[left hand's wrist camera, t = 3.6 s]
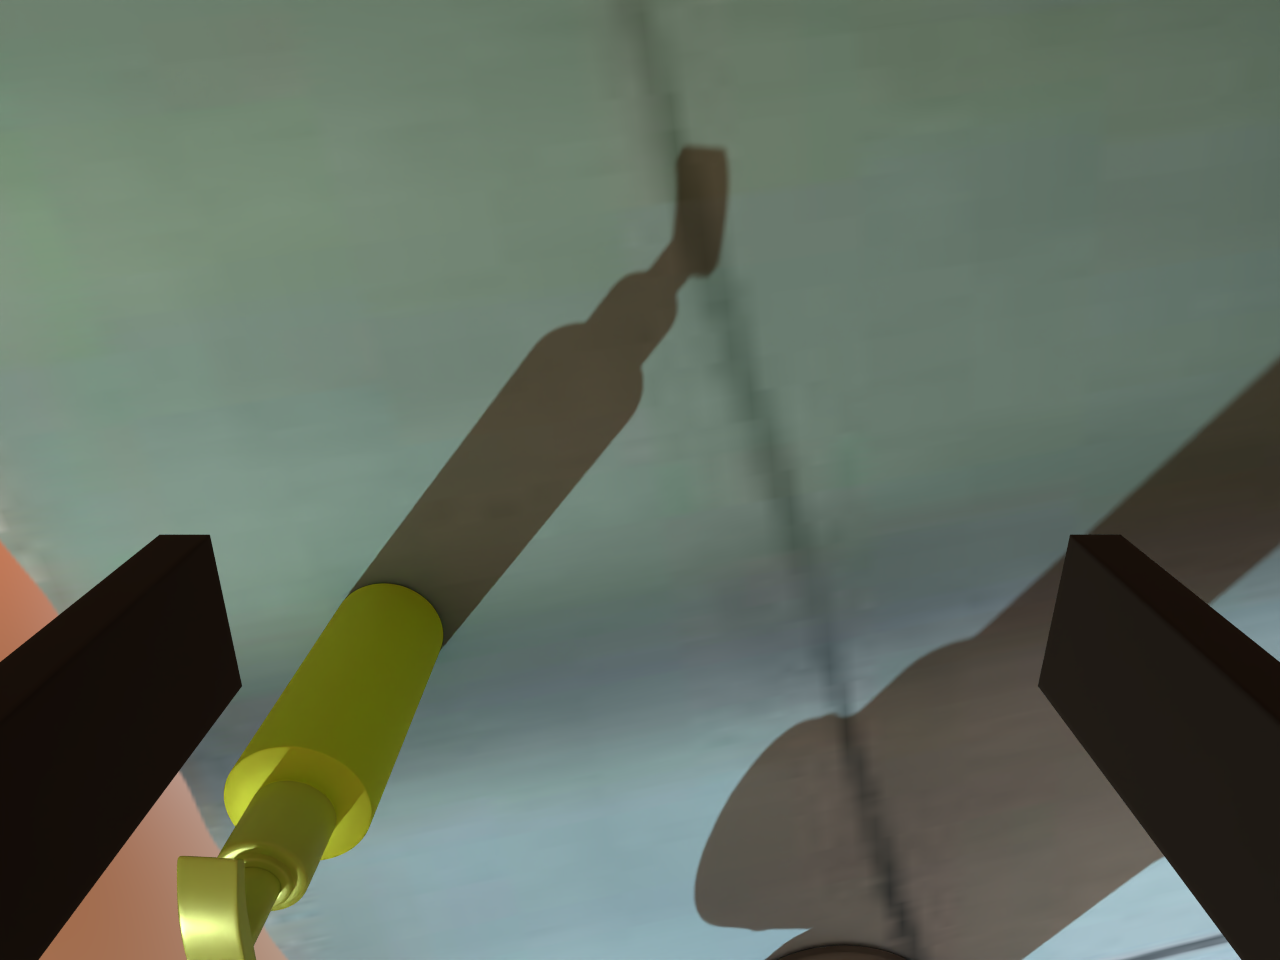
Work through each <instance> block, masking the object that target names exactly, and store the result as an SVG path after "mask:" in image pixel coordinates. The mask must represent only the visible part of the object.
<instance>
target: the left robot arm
mask: <svg viewBox="0 0 1280 960" xmlns="http://www.w3.org/2000/svg"><path fill="white" fill-rule="evenodd" d="M241 687H242V684H241V679H240V674H239V670H238V665H237V660H236V656H235V651H234V646H233V641H232V637H231V632H230V627H229V623H228V618H227V613H226V609H225V604H224V599H223V594H222V590H221V585H220V580H219V576H218V571H217V566H216V562H215V557H214V552H213V547H212V543H211V538H210V535H159V536H157V537H156V538H155V539H154V540H152V541H151V542H150V543H149V544H147V545H146V546H145V547H144V548H142V549H141V550H140V551H139V552H137V553H136V554H135V555H134V556H132V557H131V558H130V559H129V560H127V561H126V562H125V563H124V564H122V565H121V566H120V567H119V568H117V569H116V570H115V571H114V572H112V573H111V574H110V575H109V576H107V577H106V578H105V579H104V580H102V581H101V582H100V583H99V584H97V585H96V586H95V587H94V588H92V589H91V590H90V591H89V592H87V593H86V594H85V595H84V596H82V597H81V598H80V599H79V600H77V601H76V602H75V603H74V604H72V605H71V606H70V607H69V608H67V609H66V610H65V611H64V612H62V613H61V614H60V615H59V616H57V617H56V618H55V619H54V620H52V621H51V622H50V623H49V624H47V625H46V626H45V627H44V628H42V629H41V630H40V631H39V632H37V633H36V634H35V635H34V636H32V637H31V638H30V639H29V640H27V641H26V642H25V643H24V644H22V645H21V646H20V647H19V648H17V649H16V650H15V651H14V652H12V653H11V654H10V655H9V656H7V657H6V658H5V659H4V660H2V661H1V662H0V960H39V958H40V957H41V956H42V954H43V953H44V952H45V950H46V949H47V948H48V946H49V945H50V944H51V942H52V941H53V940H54V938H55V937H56V935H57V934H58V933H59V931H60V930H61V929H62V927H63V926H64V925H65V923H66V922H67V921H68V919H69V918H70V917H71V915H72V914H73V913H74V911H75V910H76V909H77V907H78V906H79V905H80V903H81V902H82V900H83V899H84V898H85V896H86V895H87V894H88V892H89V891H90V890H91V888H92V887H93V886H94V884H95V883H96V882H97V880H98V879H99V878H100V876H101V875H102V874H103V872H104V871H105V870H106V868H107V867H108V866H109V864H110V863H111V862H112V860H113V859H114V857H115V856H116V855H117V853H118V852H119V851H120V849H121V848H122V847H123V845H124V844H125V843H126V841H127V840H128V839H129V837H130V836H131V835H132V833H133V832H134V831H135V829H136V828H137V826H138V825H139V824H140V822H141V821H142V820H143V818H144V817H145V816H146V814H147V813H148V812H149V810H150V809H151V808H152V806H153V805H154V804H155V802H156V801H157V800H158V798H159V797H160V796H161V794H162V793H163V792H164V790H165V789H166V788H167V786H168V785H169V784H170V782H171V781H172V779H173V778H174V777H175V775H176V774H177V773H178V771H179V770H180V769H181V767H182V766H183V765H184V763H185V762H186V761H187V759H188V758H189V757H190V755H191V754H192V753H193V751H194V750H195V749H196V747H197V746H198V745H199V743H200V742H201V740H202V739H203V738H204V736H205V735H206V734H207V732H208V731H209V730H210V728H211V727H212V726H213V724H214V723H215V722H216V720H217V719H218V718H219V716H220V715H221V714H222V712H223V711H224V710H225V708H226V707H227V706H228V704H229V703H230V701H231V700H232V699H233V697H234V696H235V695H236V693H237V692H238V691H239V689H240V688H241ZM1038 687H1039V688H1040V689H1041V691H1042V692H1043V693H1044V695H1045V696H1046V697H1047V699H1048V700H1049V701H1050V703H1051V704H1052V706H1053V707H1054V708H1055V710H1056V711H1057V712H1058V714H1059V715H1060V716H1061V718H1062V719H1063V720H1064V722H1065V723H1066V724H1067V726H1068V727H1069V728H1070V730H1071V731H1072V732H1073V734H1074V735H1075V736H1076V738H1077V739H1078V740H1079V742H1080V743H1081V745H1082V746H1083V747H1084V749H1085V750H1086V751H1087V753H1088V754H1089V755H1090V757H1091V758H1092V759H1093V761H1094V762H1095V763H1096V765H1097V766H1098V767H1099V769H1100V770H1101V771H1102V773H1103V774H1104V775H1105V777H1106V778H1107V779H1108V781H1109V782H1110V784H1111V785H1112V786H1113V788H1114V789H1115V790H1116V792H1117V793H1118V794H1119V796H1120V797H1121V798H1122V800H1123V801H1124V802H1125V804H1126V805H1127V806H1128V808H1129V809H1130V810H1131V812H1132V813H1133V814H1134V816H1135V817H1136V818H1137V820H1138V821H1139V823H1140V824H1141V825H1142V827H1143V828H1144V829H1145V831H1146V832H1147V833H1148V835H1149V836H1150V837H1151V839H1152V840H1153V841H1154V843H1155V844H1156V845H1157V847H1158V848H1159V849H1160V851H1161V852H1162V853H1163V855H1164V856H1165V857H1166V859H1167V860H1168V862H1169V863H1170V864H1171V866H1172V867H1173V868H1174V870H1175V871H1176V872H1177V874H1178V875H1179V876H1180V878H1181V879H1182V880H1183V882H1184V883H1185V884H1186V886H1187V887H1188V888H1189V890H1190V891H1191V892H1192V894H1193V895H1194V896H1195V898H1196V899H1197V901H1198V902H1199V903H1200V905H1201V906H1202V907H1203V909H1204V910H1205V911H1206V913H1207V914H1208V915H1209V917H1210V918H1211V919H1212V921H1213V922H1214V923H1215V925H1216V926H1217V927H1218V929H1219V930H1220V931H1221V933H1222V934H1223V935H1224V937H1225V938H1226V940H1227V941H1228V942H1229V944H1230V945H1231V946H1232V948H1233V949H1234V950H1235V952H1236V953H1237V954H1238V956H1239V957H1240V958H1241V960H1280V662H1279V661H1278V660H1276V659H1275V658H1274V657H1273V656H1271V655H1270V654H1269V653H1268V652H1266V651H1265V650H1264V649H1263V648H1261V647H1260V646H1259V645H1258V644H1256V643H1255V642H1254V641H1253V640H1251V639H1250V638H1249V637H1248V636H1246V635H1245V634H1244V633H1243V632H1241V631H1240V630H1239V629H1238V628H1236V627H1235V626H1234V625H1233V624H1231V623H1230V622H1229V621H1228V620H1226V619H1225V618H1224V617H1223V616H1221V615H1220V614H1219V613H1218V612H1216V611H1215V610H1214V609H1213V608H1211V607H1210V606H1209V605H1208V604H1206V603H1205V602H1204V601H1203V600H1201V599H1200V598H1199V597H1198V596H1196V595H1195V594H1194V593H1193V592H1191V591H1190V590H1189V589H1188V588H1186V587H1185V586H1184V585H1183V584H1181V583H1180V582H1179V581H1178V580H1176V579H1175V578H1174V577H1173V576H1171V575H1170V574H1169V573H1168V572H1166V571H1165V570H1164V569H1163V568H1161V567H1160V566H1159V565H1158V564H1156V563H1155V562H1154V561H1153V560H1151V559H1150V558H1149V557H1148V556H1146V555H1145V554H1144V553H1143V552H1141V551H1140V550H1139V549H1138V548H1136V547H1135V546H1134V545H1133V544H1131V543H1130V542H1129V541H1128V540H1126V539H1125V538H1124V537H1123V536H1121V535H1070V538H1069V543H1068V547H1067V552H1066V557H1065V562H1064V566H1063V571H1062V576H1061V580H1060V585H1059V590H1058V594H1057V599H1056V604H1055V609H1054V613H1053V618H1052V623H1051V627H1050V632H1049V637H1048V641H1047V646H1046V651H1045V656H1044V660H1043V665H1042V670H1041V674H1040V679H1039V684H1038ZM778 960H907V959H904V958H902V957H900V956H898V955H895V954H893V953H890V952H887V951H883V950H879V949H875V948H869V947H862V946H848V945H840V946H825V947H818V948H812V949H808V950H804V951H800V952H796V953H793V954H790V955H787V956H785V957H783V958H780V959H778Z"/></svg>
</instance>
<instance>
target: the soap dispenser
mask: <svg viewBox="0 0 1280 960" xmlns="http://www.w3.org/2000/svg"><path fill="white" fill-rule="evenodd" d="M442 642H443V628H442V623H441V620H440V618H439V616H438V614H437V612H436V610H435V609H434V608H433V606H432V605H431V604H430V603H429V602H428V601H427V600H426V599H425V598H424V597H422V596H421V595H420V594H418V593H416V592H415V591H413V590H411V589H408V588H406V587H403V586H399V585H395V584H386V583H380V584H372V585H368V586H365V587H362V588H360V589H358V590H356V591H354V592H353V593H351V594H350V595H349V596H348V597H347V598H346V599H345V600H344V601H343V602H342V604H341V605H340V607H339V608H338V610H337V611H336V613H335V614H334V616H333V617H332V619H331V620H330V622H329V623H328V625H327V626H326V628H325V629H324V631H323V632H322V634H321V635H320V637H319V638H318V640H317V641H316V643H315V644H314V646H313V648H312V649H311V651H310V652H309V654H308V655H307V657H306V658H305V660H304V661H303V663H302V664H301V666H300V667H299V669H298V670H297V672H296V673H295V675H294V676H293V678H292V679H291V681H290V682H289V684H288V685H287V687H286V688H285V690H284V692H283V693H282V695H281V696H280V698H279V699H278V701H277V702H276V704H275V705H274V707H273V708H272V710H271V711H270V713H269V714H268V716H267V717H266V719H265V720H264V722H263V723H262V725H261V726H260V728H259V729H258V731H257V732H256V734H255V735H254V737H253V739H252V740H251V742H250V743H249V745H248V746H247V748H246V749H245V751H244V752H243V754H242V755H241V757H240V758H239V760H238V761H237V763H236V764H235V766H234V767H233V769H232V770H231V772H230V774H229V776H228V778H227V780H226V783H225V788H224V802H225V807H226V810H227V813H228V815H229V817H230V819H231V821H232V822H233V824H234V825H235V828H234V830H233V832H232V833H231V835H230V837H229V838H228V840H227V842H226V843H225V845H224V847H223V848H222V850H221V852H220V854H219V856H218V857H217V858H215V857H195V856H180V857H179V858H178V862H177V899H178V914H179V923H180V930H181V936H182V941H183V945H184V950H185V954H186V958H187V960H256V957H255V952H254V944H255V942H256V940H257V938H258V936H259V934H260V932H261V930H262V928H263V926H264V924H265V922H266V920H267V917H268V915H269V913H270V911H275V910H281V909H284V908H287V907H289V906H291V905H293V904H295V903H296V902H298V901H299V900H300V899H301V898H302V896H303V895H304V894H305V892H306V890H307V888H308V886H309V884H310V882H311V880H312V877H313V875H314V873H315V871H316V868H317V866H318V864H319V862H320V860H325V859H329V858H333V857H336V856H339V855H341V854H343V853H345V852H347V851H349V850H350V849H352V848H353V847H355V846H356V845H357V844H358V843H359V842H360V841H361V840H362V839H363V837H364V836H365V834H366V833H367V831H368V829H369V826H370V824H371V822H372V819H373V817H374V814H375V812H376V809H377V807H378V804H379V802H380V799H381V797H382V794H383V792H384V789H385V787H386V784H387V782H388V779H389V777H390V774H391V772H392V769H393V767H394V764H395V762H396V759H397V757H398V754H399V752H400V749H401V747H402V744H403V742H404V739H405V737H406V734H407V732H408V729H409V727H410V724H411V722H412V719H413V717H414V714H415V712H416V709H417V707H418V704H419V702H420V699H421V697H422V694H423V692H424V689H425V687H426V684H427V682H428V679H429V677H430V674H431V672H432V669H433V667H434V664H435V662H436V659H437V657H438V654H439V652H440V649H441V646H442Z"/></svg>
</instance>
